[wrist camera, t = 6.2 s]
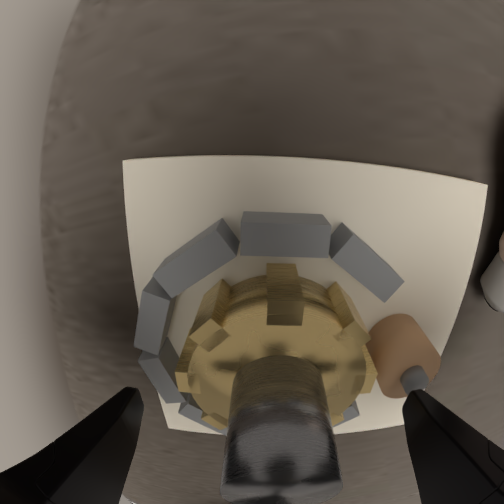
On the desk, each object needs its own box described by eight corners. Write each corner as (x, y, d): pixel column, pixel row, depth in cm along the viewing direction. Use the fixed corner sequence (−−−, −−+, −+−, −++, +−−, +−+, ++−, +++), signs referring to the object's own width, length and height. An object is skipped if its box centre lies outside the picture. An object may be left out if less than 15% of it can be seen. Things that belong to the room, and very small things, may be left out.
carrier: (400, 412, 15) (419, 461, 11) (172, 415, 15) (156, 469, 11) (474, 181, 10) (537, 201, 6) (133, 158, 10) (74, 169, 6)
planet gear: (340, 394, 13) (367, 514, 6) (198, 392, 13) (171, 515, 7) (372, 265, 10) (467, 396, 4) (184, 260, 10) (101, 402, 4)
